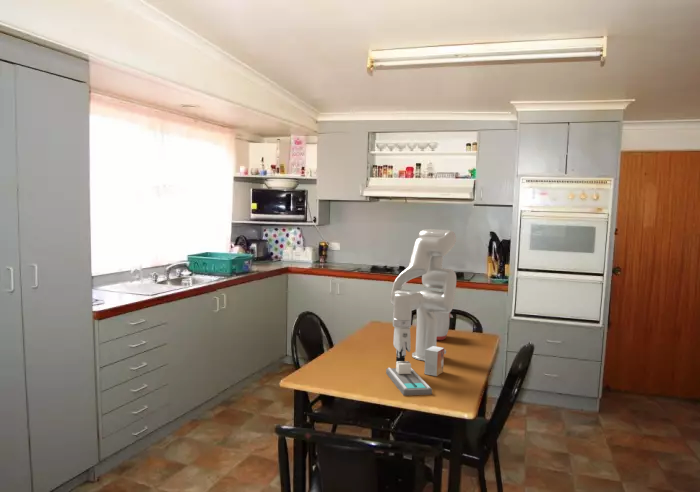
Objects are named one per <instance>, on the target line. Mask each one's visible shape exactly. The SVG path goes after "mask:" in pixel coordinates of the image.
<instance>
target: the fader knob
mask: <svg viewBox="0 0 700 492" xmlns="http://www.w3.org/2000/svg"><path fill="white" fill-rule="evenodd" d="M395 368H396V371H397V373H398V374H411V368H412V363H411V362H410V361H408V360H405V361H395Z"/></svg>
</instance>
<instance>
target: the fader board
mask: <svg viewBox="0 0 700 492" xmlns="http://www.w3.org/2000/svg"><path fill="white" fill-rule="evenodd" d="M385 372H386V373H385V374H386V375H387V376H388V378H389V379H390V380H391V382H392V383H393V384H394V385H395V387H396V388H397V389H398V391H400V394H402V395H403V396H423V395H424V396H425V395H433V388H432V387H431V386H430V385H429V384H428V383H427V382H426V381H425V379H423V378H422V377H421V376H420V375H419V374H418V372H416V371H415V369H413V368H412V367H411V374H398V373H397V371H396V367H395V368H392V367H388V368H386V369H385Z"/></svg>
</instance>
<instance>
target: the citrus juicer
mask: <svg viewBox="0 0 700 492" xmlns="http://www.w3.org/2000/svg"><path fill="white" fill-rule="evenodd" d="M433 313H434V314H435V316H436V318H437V341H444V340H445V339H446V338H447V335H448V332H449V328H450V319H453V318H454V317H453V314H452V313H451V312H450V313H440V312H433Z"/></svg>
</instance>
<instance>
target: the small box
mask: <svg viewBox="0 0 700 492" xmlns="http://www.w3.org/2000/svg"><path fill="white" fill-rule="evenodd" d="M444 350H445V347H441V346H437V345H436V346H432V347H430V348H428V349H426V350H425V361H424V375H429V376H432V377H438V376H439V375H440V374H442V373H444V362H445V361H444V359H445V354H444Z"/></svg>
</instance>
